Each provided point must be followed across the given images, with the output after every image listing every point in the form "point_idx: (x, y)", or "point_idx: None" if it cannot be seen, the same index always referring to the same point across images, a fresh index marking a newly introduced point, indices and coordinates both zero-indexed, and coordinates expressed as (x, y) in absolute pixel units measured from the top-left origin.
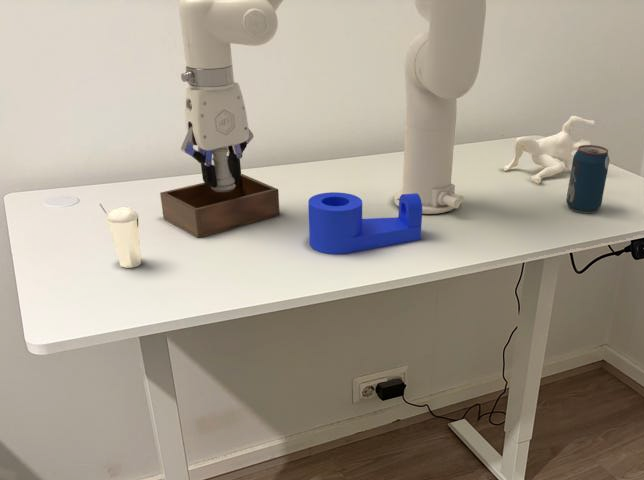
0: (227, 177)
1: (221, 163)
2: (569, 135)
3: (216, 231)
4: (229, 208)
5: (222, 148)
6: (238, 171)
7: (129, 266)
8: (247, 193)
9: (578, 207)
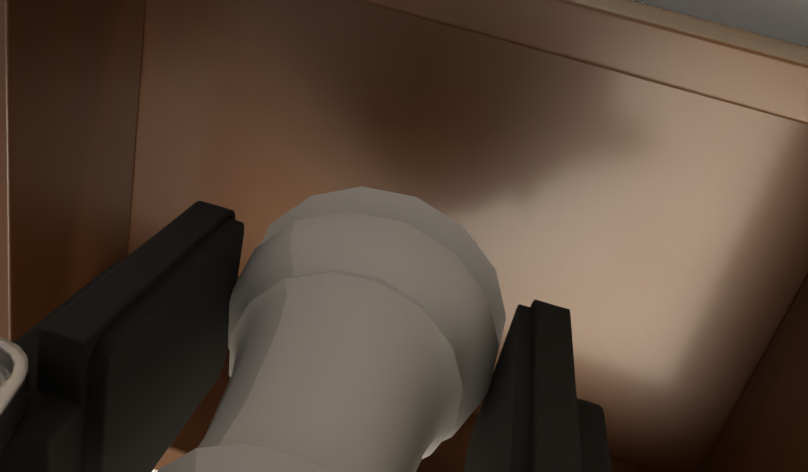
0: (362, 283)
1: (349, 456)
2: None
3: (760, 35)
4: (630, 11)
5: None
6: (169, 251)
7: None
8: (98, 264)
9: None
